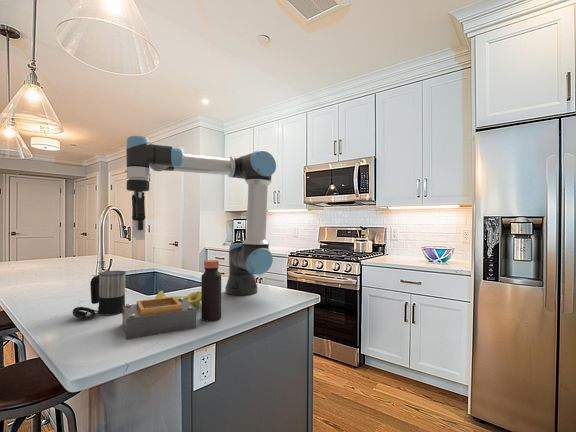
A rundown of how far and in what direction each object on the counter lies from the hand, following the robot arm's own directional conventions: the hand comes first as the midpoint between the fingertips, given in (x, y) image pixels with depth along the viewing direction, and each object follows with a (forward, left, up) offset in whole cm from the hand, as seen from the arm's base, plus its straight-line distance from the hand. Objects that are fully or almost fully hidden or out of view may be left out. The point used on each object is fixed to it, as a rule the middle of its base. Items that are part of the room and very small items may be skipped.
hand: (138, 238), depth 117 cm
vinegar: (-21, +18, -28) cm, 39 cm away
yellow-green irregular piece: (-16, -2, -28) cm, 32 cm away
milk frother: (+12, -7, -28) cm, 31 cm away
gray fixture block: (-4, +17, -28) cm, 32 cm away
